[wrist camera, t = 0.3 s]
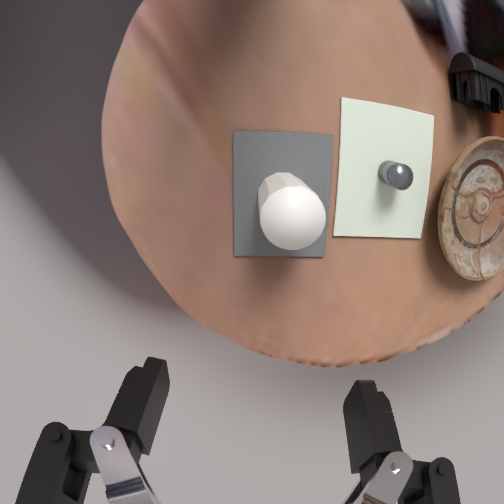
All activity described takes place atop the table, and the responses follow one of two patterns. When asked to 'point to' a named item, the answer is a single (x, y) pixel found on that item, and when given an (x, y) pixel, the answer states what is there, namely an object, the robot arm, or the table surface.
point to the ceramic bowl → (474, 211)
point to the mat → (266, 164)
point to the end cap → (476, 83)
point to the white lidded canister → (290, 212)
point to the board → (368, 161)
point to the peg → (395, 174)
